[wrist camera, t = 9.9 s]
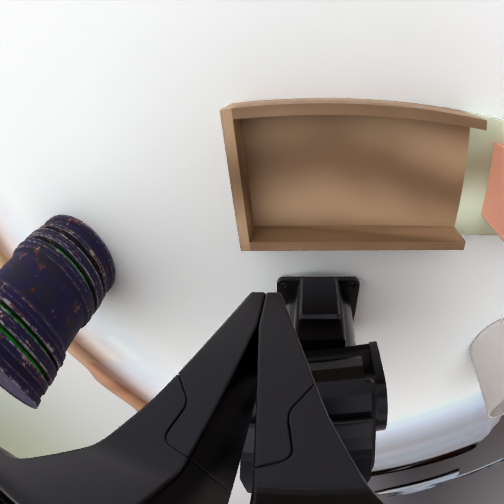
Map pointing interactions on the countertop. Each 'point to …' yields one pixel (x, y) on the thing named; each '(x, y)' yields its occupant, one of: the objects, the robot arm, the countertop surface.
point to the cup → (490, 366)
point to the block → (495, 192)
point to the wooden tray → (357, 174)
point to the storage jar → (48, 302)
